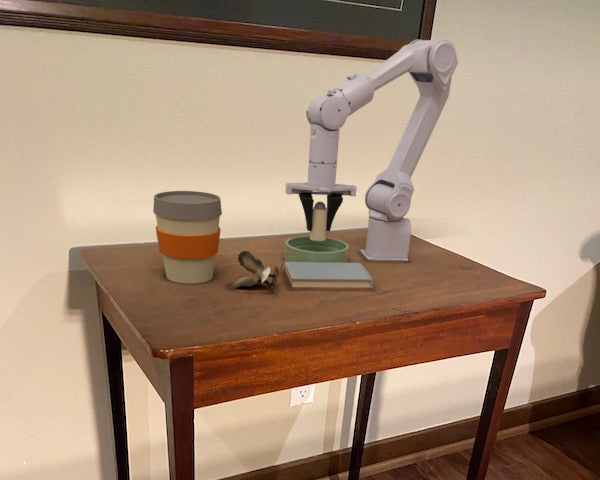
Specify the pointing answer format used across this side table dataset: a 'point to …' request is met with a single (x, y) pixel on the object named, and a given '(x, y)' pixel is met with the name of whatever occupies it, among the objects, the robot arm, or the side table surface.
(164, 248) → the reusable coffee cup
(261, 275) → the eagle figurine
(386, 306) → the side table surface
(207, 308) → the side table surface
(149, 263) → the side table surface
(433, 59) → the robot arm
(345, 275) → the book
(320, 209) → the shaker
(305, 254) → the bowl
